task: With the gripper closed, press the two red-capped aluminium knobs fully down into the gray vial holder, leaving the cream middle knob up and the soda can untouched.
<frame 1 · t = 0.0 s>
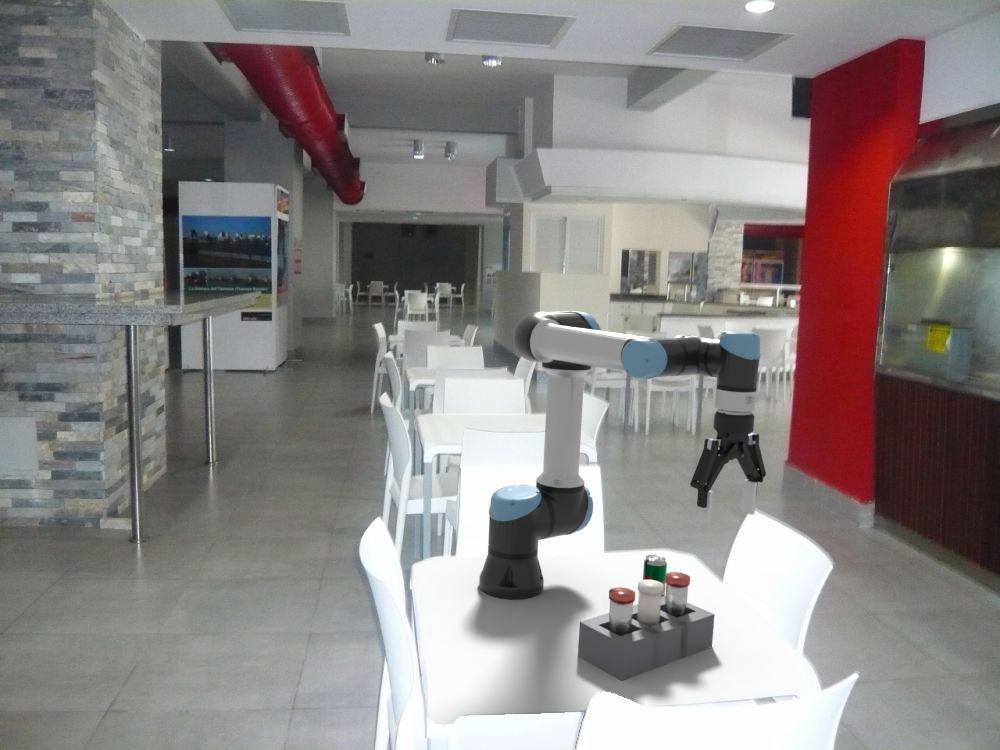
hand: (726, 518, 172), 28 cm above the table, fingers open, 13 cm apart
gray vial holder: (646, 651, 175), on the table
red knob b: (676, 597, 179), point 9 cm above the table, slide at 0.0 cm
red knob a: (620, 614, 169), point 9 cm above the table, slide at 0.0 cm
cream knob: (649, 605, 174), point 10 cm above the table, slide at 0.0 cm
soda can: (652, 610, 196), on the table
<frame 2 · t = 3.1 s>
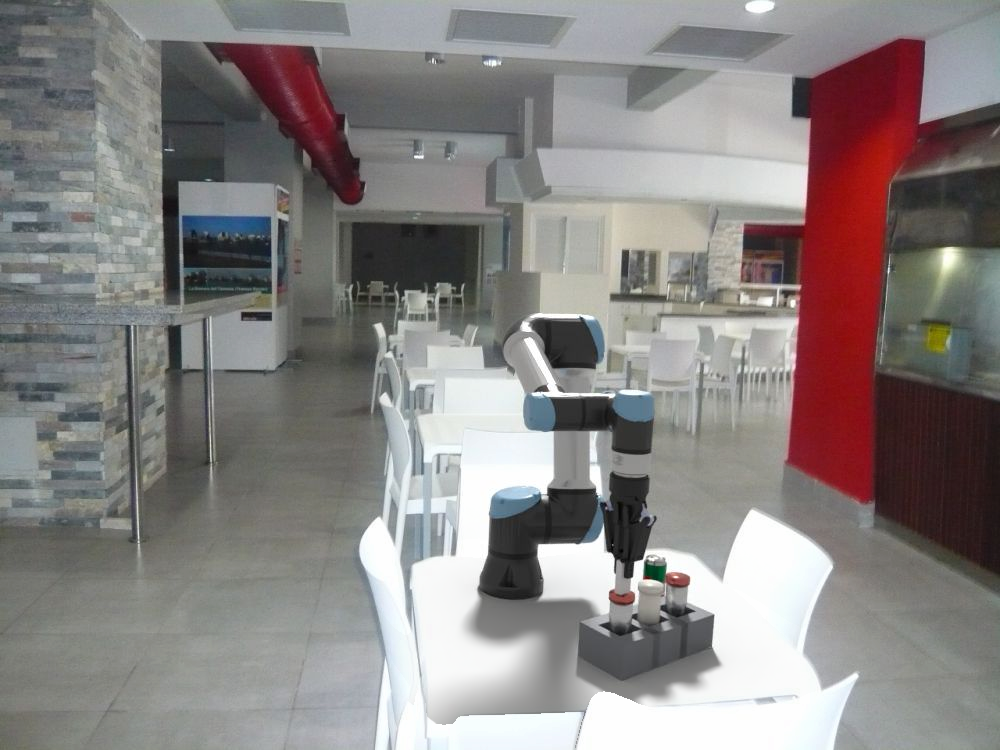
hand: (622, 592, 168), 14 cm above the table, fingers closed
red knob a: (620, 615, 169), point 9 cm above the table, slide at 0.2 cm, touching gripper
everything else where it was.
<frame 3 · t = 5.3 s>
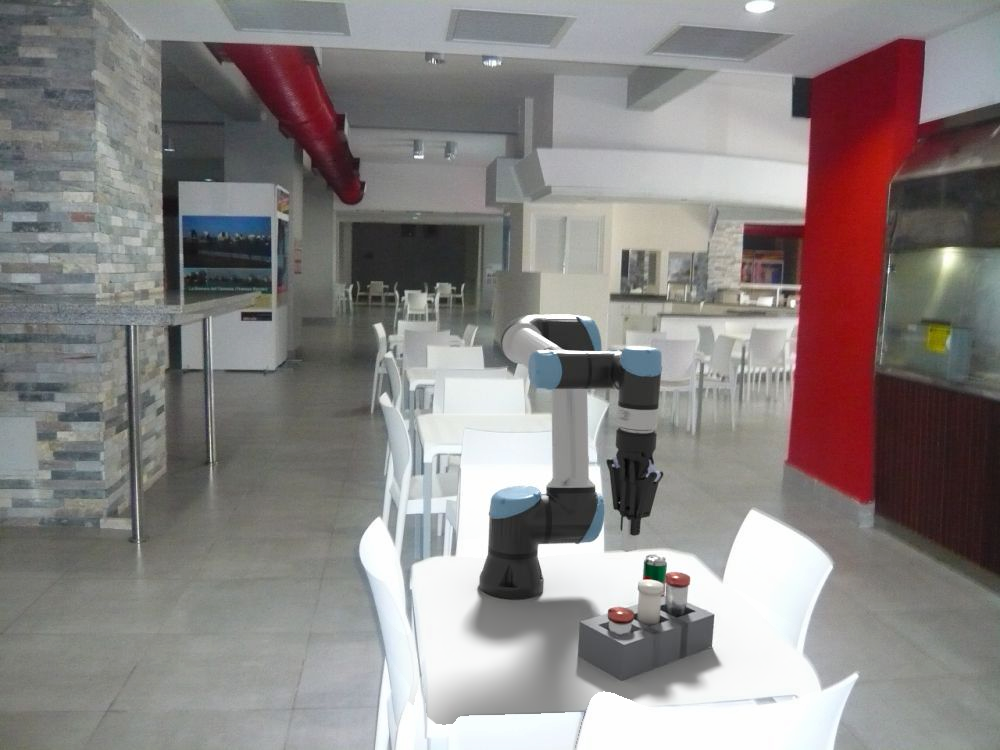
hand: (628, 549, 168), 22 cm above the table, fingers closed
red knob a: (619, 634, 169), point 6 cm above the table, slide at 4.0 cm
everything else where it was.
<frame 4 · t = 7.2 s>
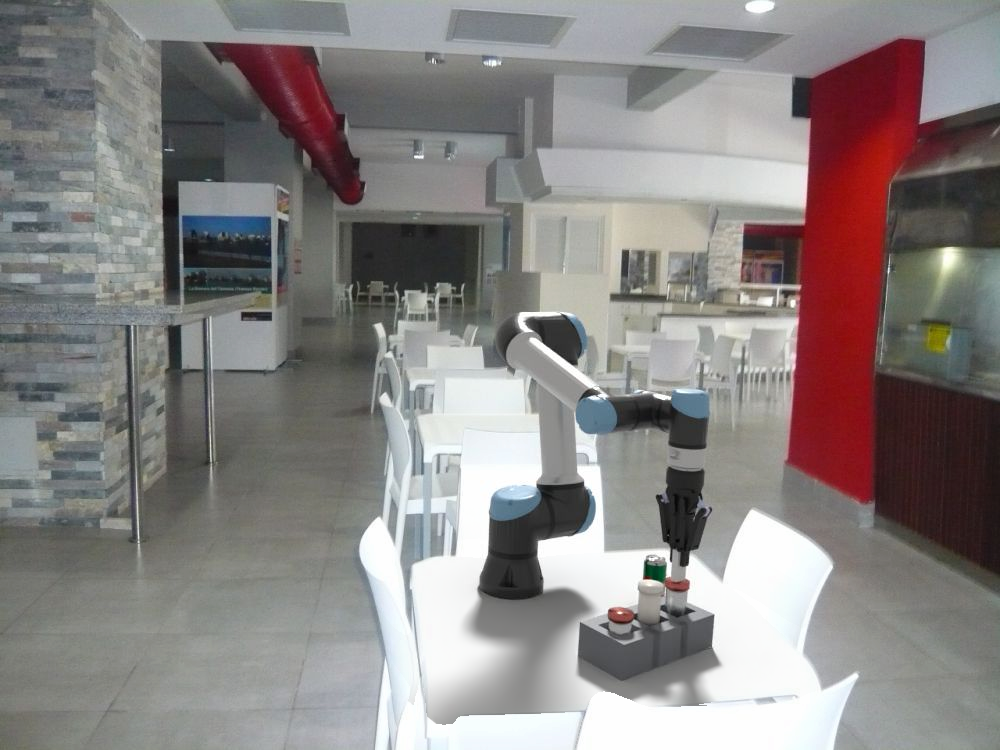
hand: (677, 579, 178), 13 cm above the table, fingers closed
red knob b: (675, 602, 179), point 9 cm above the table, slide at 0.9 cm, touching gripper
everything else where it was.
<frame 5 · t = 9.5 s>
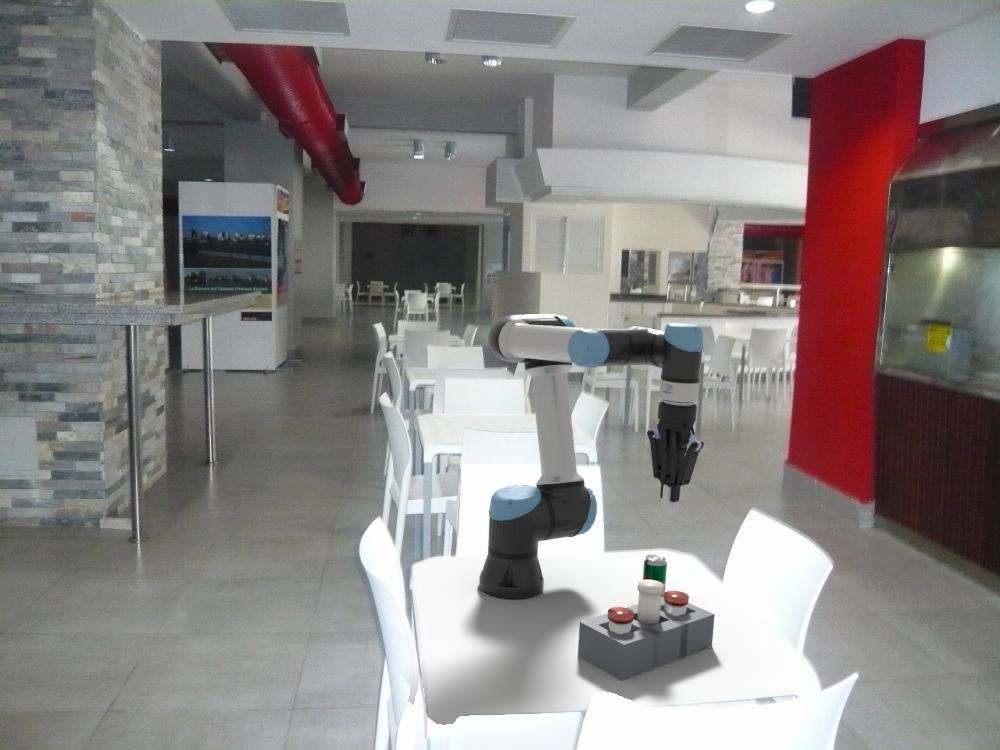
hand: (668, 515, 177), 26 cm above the table, fingers closed
red knob b: (674, 616, 179), point 6 cm above the table, slide at 4.0 cm
everything else where it was.
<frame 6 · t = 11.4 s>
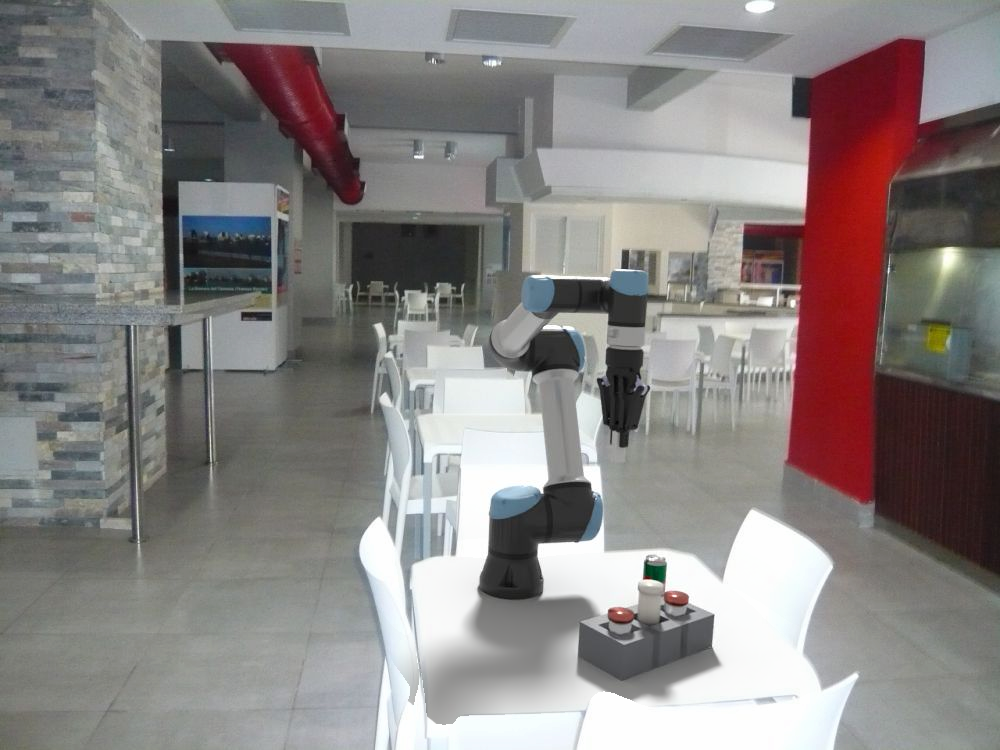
hand: (617, 461, 179), 36 cm above the table, fingers closed
nothing on the table moved.
at the end: red knob a slide at 4.0 cm; red knob b slide at 4.0 cm; cream knob slide at 0.0 cm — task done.
